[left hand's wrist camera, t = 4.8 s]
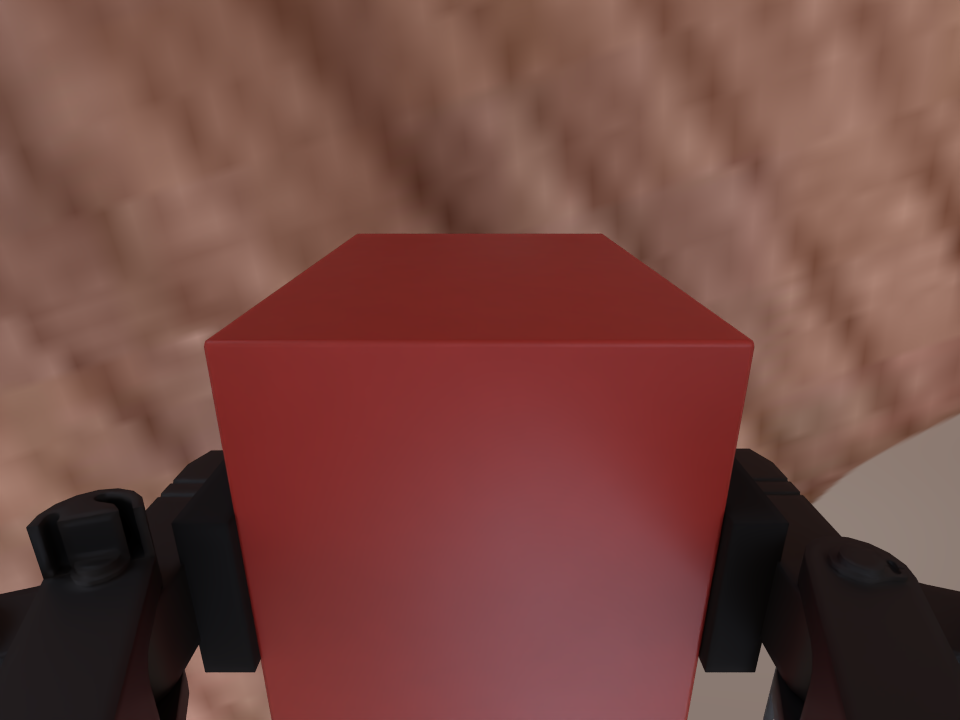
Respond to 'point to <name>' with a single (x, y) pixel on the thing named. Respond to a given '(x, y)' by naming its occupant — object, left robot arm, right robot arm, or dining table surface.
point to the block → (479, 478)
